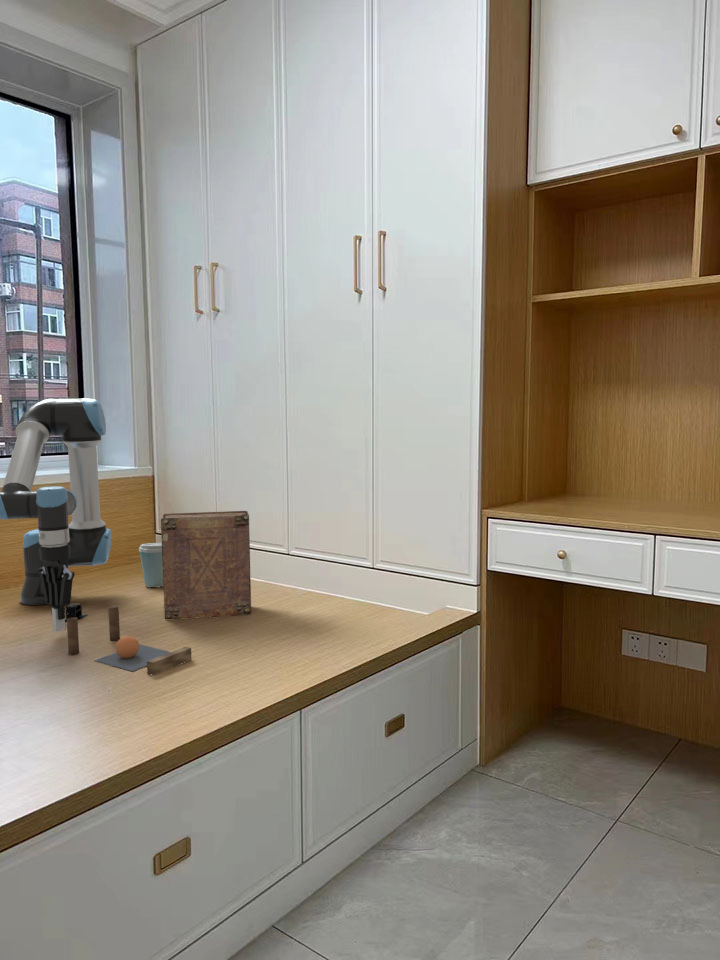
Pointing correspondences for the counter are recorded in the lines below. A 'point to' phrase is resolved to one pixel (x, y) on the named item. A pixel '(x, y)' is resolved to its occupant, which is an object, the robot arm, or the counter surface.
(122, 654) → the ball
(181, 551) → the book
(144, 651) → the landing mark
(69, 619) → the outer post
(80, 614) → the black boxy device
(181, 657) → the stopper wall
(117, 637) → the inner post
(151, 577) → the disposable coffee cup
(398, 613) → the counter surface
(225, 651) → the counter surface
